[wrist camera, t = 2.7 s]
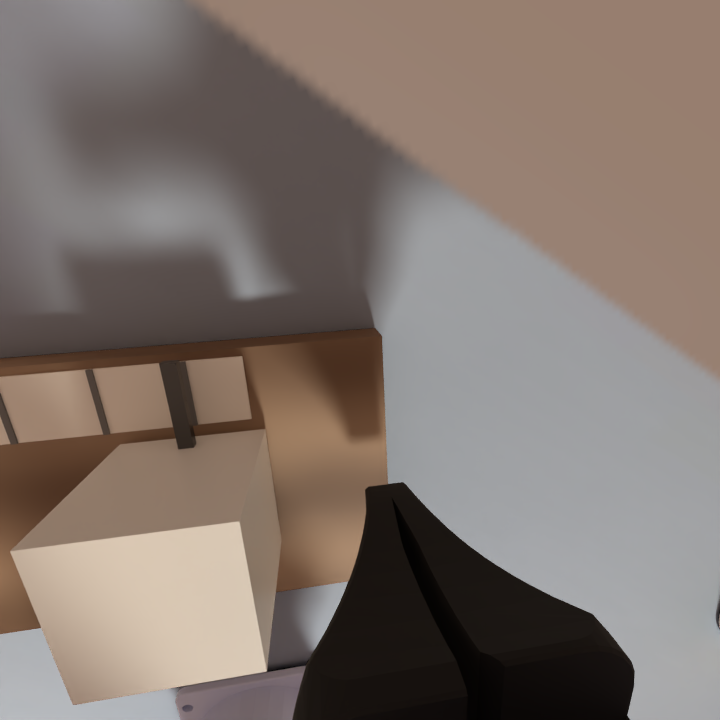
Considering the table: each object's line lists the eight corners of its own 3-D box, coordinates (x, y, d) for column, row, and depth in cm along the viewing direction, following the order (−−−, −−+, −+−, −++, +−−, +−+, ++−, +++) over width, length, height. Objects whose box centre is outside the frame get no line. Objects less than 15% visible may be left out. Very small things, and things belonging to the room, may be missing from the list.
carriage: (281, 540, 15) (266, 671, 10) (151, 558, 14) (73, 705, 9) (253, 349, 12) (218, 404, 8) (97, 362, 12) (-40, 430, 7)
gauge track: (385, 549, 18) (423, 707, 11) (-229, 637, 15) (-608, 903, 9) (375, 327, 15) (420, 381, 8) (-402, 391, 12) (-1172, 536, 6)
